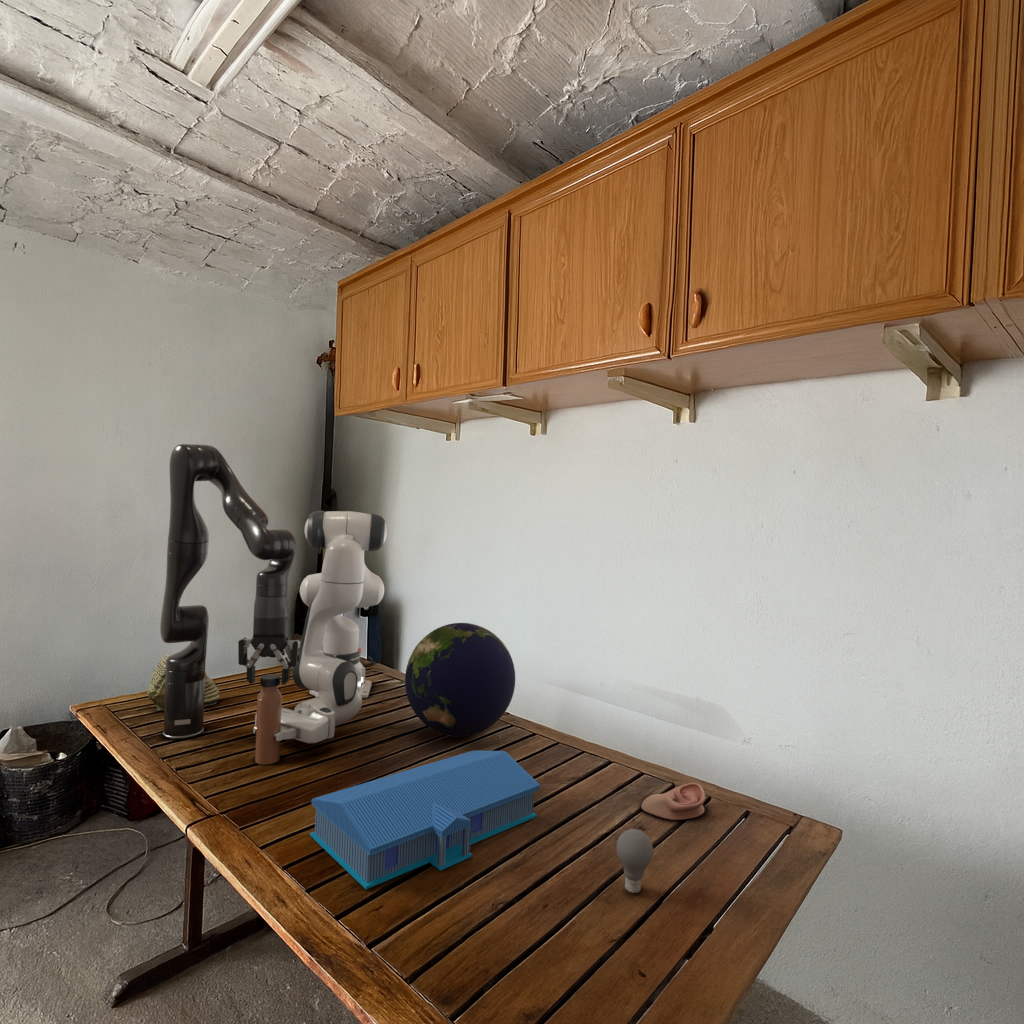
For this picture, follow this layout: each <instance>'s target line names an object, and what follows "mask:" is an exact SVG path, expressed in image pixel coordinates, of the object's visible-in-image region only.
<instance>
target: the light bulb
mask: <svg viewBox="0 0 1024 1024" xmlns="http://www.w3.org/2000/svg"><path fill="white" fill-rule="evenodd" d="M615 849H616V854H617V857H618V859H619V861H620V863H621V865H622V867H623V873H624V874H623V875H624V876H625V878H624V888H625V890H627V891H628V892H630V893H634V894H635V893H639V892H640V891H641V889H642V887H641V886H642V879H643V877H644V875H645V871H646V868H647V867H648V866H649V864H650V863H651V861H652V859H653V855H654V847H653V843H652V841H651V838H649V836H648V835H647V834H646V833H645V832H643V831H642V830H641V829H636V828H629V829H627V830H625V831H623V832H622V833H621V834H620V835H619V837H618V839H617V841H616V847H615Z"/></svg>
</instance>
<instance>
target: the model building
mask: <svg viewBox="0 0 1024 1024" xmlns="http://www.w3.org/2000/svg"><path fill="white" fill-rule="evenodd" d="M538 791H541V784H540V783H539V782H538V781H537V780H536V779H535V778H534V777H533V776H532V775H531V774H530V773H529V772H527V771H526V769H524V768H523V766H521V764H519V762H517V761H516V760H515V759H514V757H512V756H511V755H510V754H509V753H508V752H507V750H471V751H467V752H464V753H460V754H457V755H454V756H449V757H447V758H444V759H441V760H437V761H434V762H431V763H427V764H423V765H420V766H417V767H414V768H410V769H407V770H403V771H400V772H397V773H394V774H390V775H387V776H384V777H381V778H380V777H379V778H377V779H374V780H371V781H366V782H364V783H360V784H357V785H354V786H350V787H347V788H344V789H339V790H337V791H334V792H330V793H327V794H324V795H319V796H316V797H314V798H311V806H313V807H314V808H315V817H314V831H311V832H310V833H309V836H310V838H312V839H313V840H314V841H315V842H316V843H317V845H319V846H320V847H321V848H322V849H323V850H325V852H326V853H327V854H329V856H330V857H331V858H333V859H334V860H335V861H336V862H337V863H338V864H339V865H340V866H341V867H342V868H343V869H344V870H345V871H346V872H347V874H349V875H350V876H351V877H352V878H353V879H354V880H355V881H356V882H357V883H359V885H361V886H362V887H363V888H364V890H369V889H371V888H373V887H375V886H378V885H381V884H382V883H385V882H388V881H389V880H392V879H394V878H397V877H399V876H402V875H404V874H406V873H408V872H410V871H413V870H416V869H417V868H420V867H423V866H424V865H427V864H429V863H430V864H431V865H432V866H433V867H434V868H436V869H437V870H438V871H440V872H441V871H443V870H445V869H448V868H450V867H452V866H455V865H457V864H459V863H461V862H463V861H465V860H468V859H471V858H473V853H471V852H470V851H471V846H472V845H474V844H476V843H478V842H482V841H484V840H486V839H488V838H490V837H493V836H495V835H497V834H499V833H502V832H505V831H506V830H507V831H508V830H510V829H512V828H513V827H516V826H519V825H520V824H523V823H525V822H527V821H530V820H532V819H535V818H537V817H538V814H537V813H535V812H534V798H535V797H534V796H535V792H538Z"/></svg>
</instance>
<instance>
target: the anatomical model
mask: <svg viewBox="0 0 1024 1024" xmlns="http://www.w3.org/2000/svg"><path fill="white" fill-rule="evenodd" d="M705 801H706V793H705V791H704V789H703V787H702V786H701V785H700V784H699V783H697V782H689V783H685V784H682V785H679V786H676V787H674V788H672V789H670V790H668V791H666V792H664V793H655V794H651V795H649V796H647V797H646V798H645V799H644V800H643V801H642V803H641V806H640V807H641V810H643V811H644V812H646V813H648V814H650V815H653V816H656V817H659V818H662V819H666V820H671V821H678V820H688V819H694V818H697V817H700V816H702V815H703V814H704V813H705V807H704V802H705Z"/></svg>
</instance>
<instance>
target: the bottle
mask: <svg viewBox="0 0 1024 1024" xmlns="http://www.w3.org/2000/svg"><path fill="white" fill-rule="evenodd" d="M282 708H283V695H282V693H281V691H280V690H279V688H278V686H275V687H262V689H261V691H260V692H259V693H258V695H257V698H256V713H257V719H256V734H255V750H254V762H255V763H256V764H257V765H264V766H265V765H271V764H275V763H277V762H279V761H280V759H281V741H276V740H274V739H273V737H274V736H273V734H274V733H275V732H278V731H281V710H282Z"/></svg>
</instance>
